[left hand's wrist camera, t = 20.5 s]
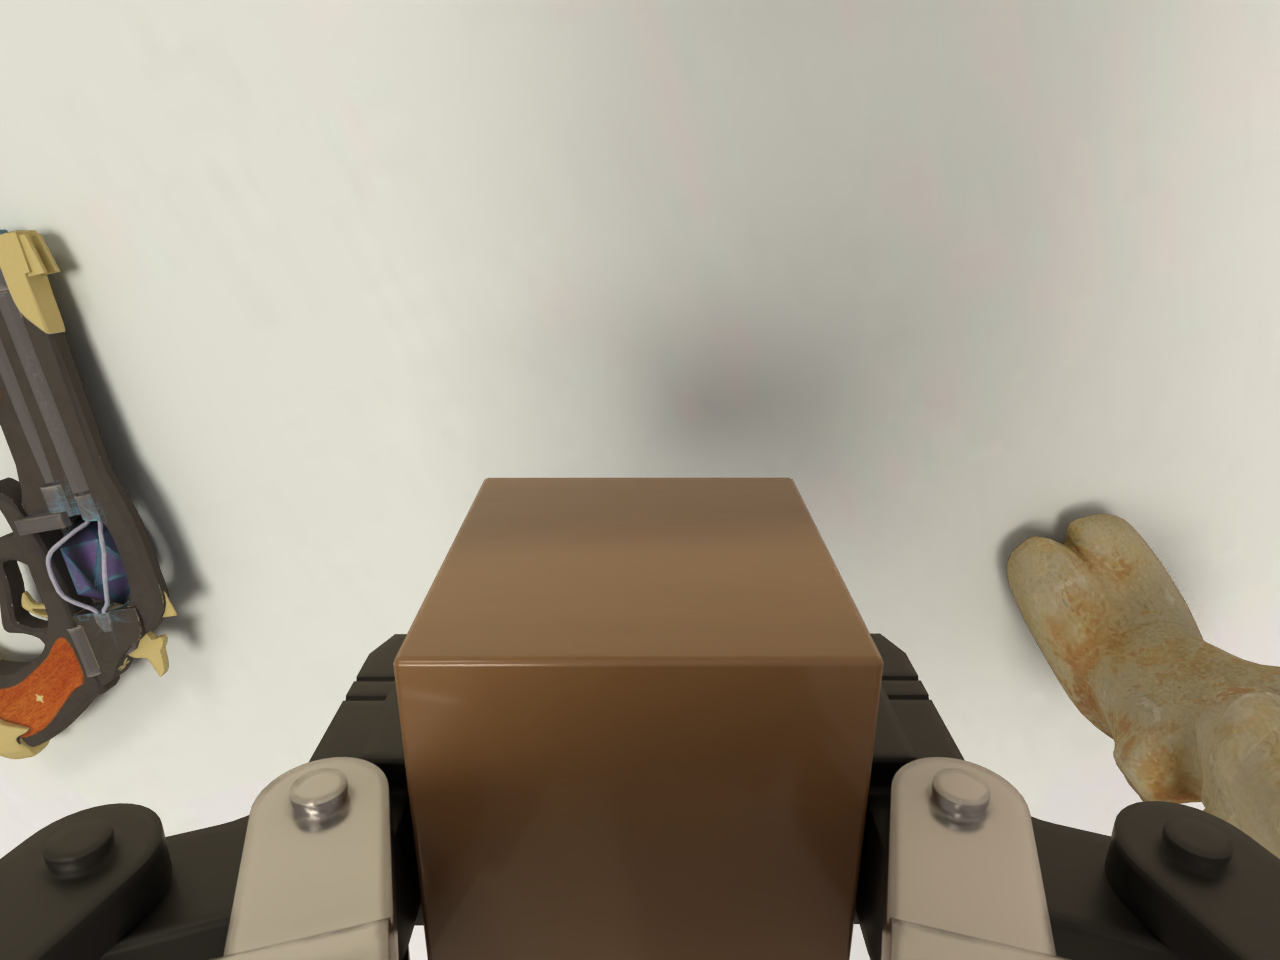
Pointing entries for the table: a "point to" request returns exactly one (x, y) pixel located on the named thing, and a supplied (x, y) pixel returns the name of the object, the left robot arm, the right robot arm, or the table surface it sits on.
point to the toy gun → (62, 523)
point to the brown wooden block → (638, 726)
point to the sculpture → (1153, 674)
